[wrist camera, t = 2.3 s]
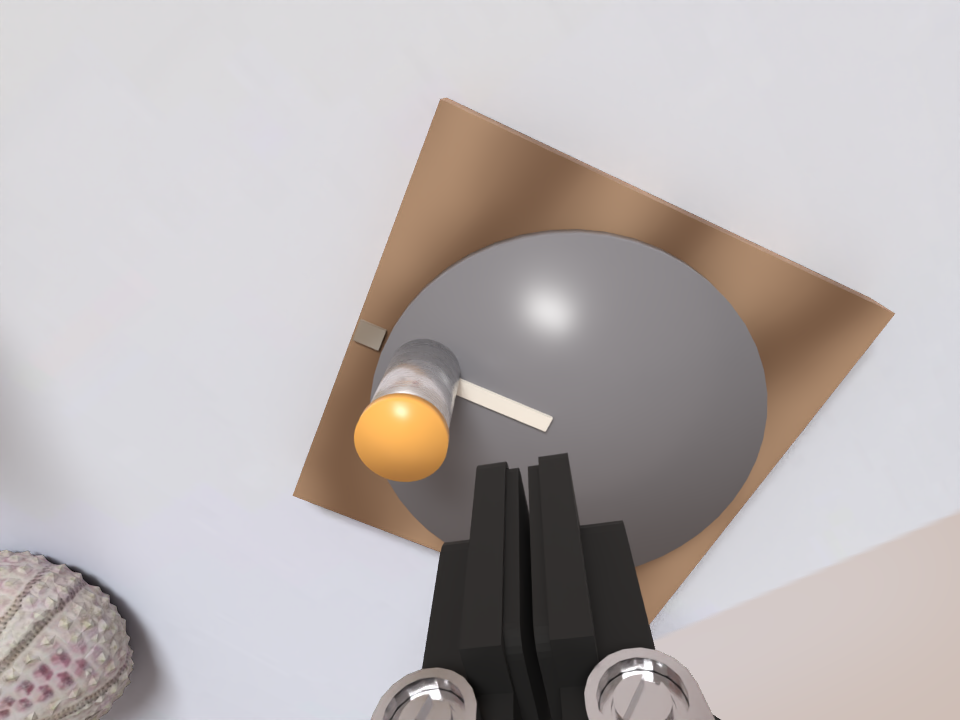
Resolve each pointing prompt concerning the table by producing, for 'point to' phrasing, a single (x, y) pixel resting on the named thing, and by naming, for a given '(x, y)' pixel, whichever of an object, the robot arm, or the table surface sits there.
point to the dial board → (589, 206)
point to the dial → (570, 386)
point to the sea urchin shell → (57, 643)
